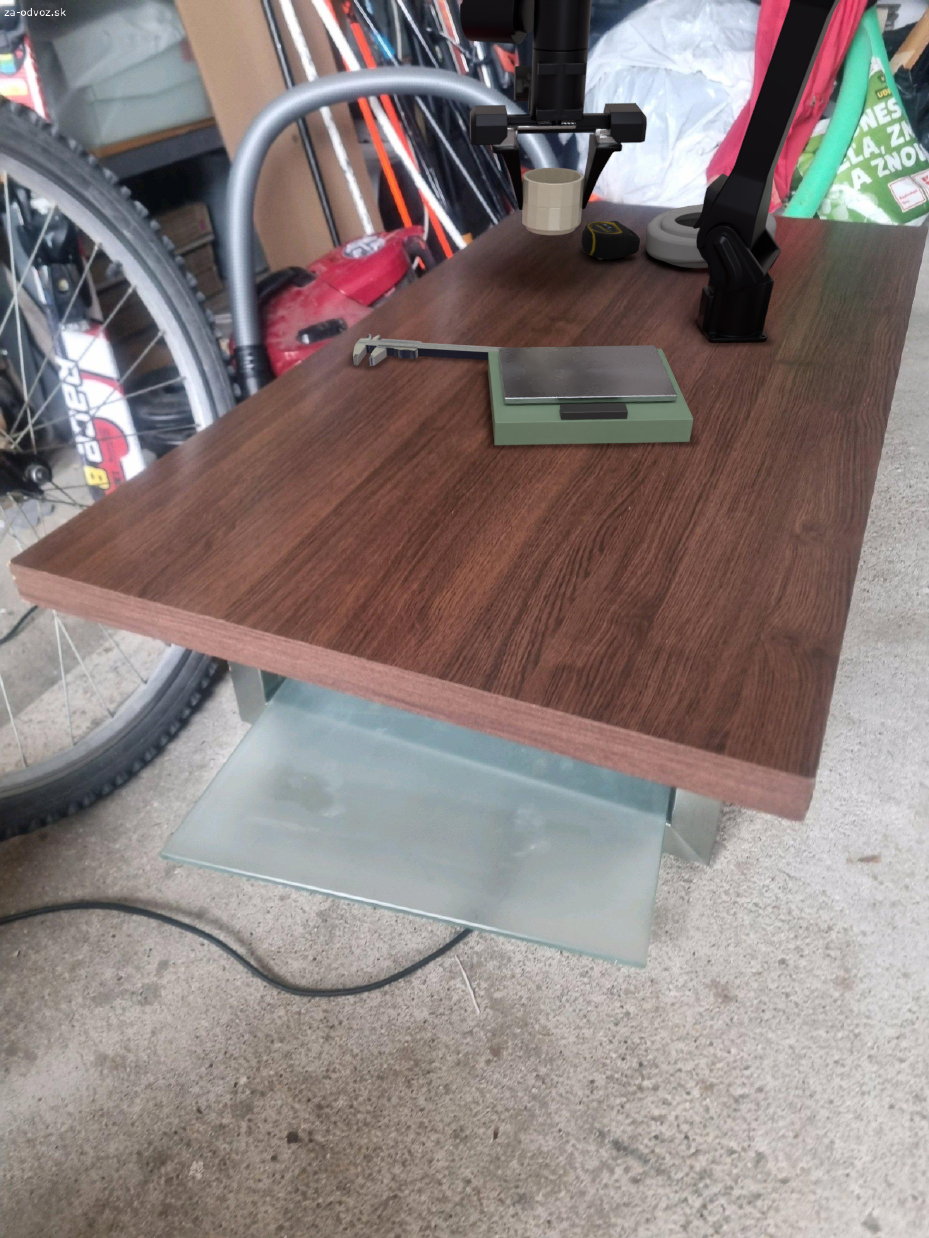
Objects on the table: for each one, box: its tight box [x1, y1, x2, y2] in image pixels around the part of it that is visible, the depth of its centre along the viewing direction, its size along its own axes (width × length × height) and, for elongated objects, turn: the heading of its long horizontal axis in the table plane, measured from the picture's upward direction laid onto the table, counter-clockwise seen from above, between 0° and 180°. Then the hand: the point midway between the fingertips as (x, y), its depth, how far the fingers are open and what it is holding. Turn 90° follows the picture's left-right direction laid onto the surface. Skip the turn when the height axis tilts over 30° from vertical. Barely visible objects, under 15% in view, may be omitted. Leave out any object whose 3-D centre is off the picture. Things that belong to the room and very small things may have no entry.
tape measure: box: [580, 220, 641, 261], centre depth 116 cm, size 7×7×4 cm
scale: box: [487, 348, 694, 446], centre depth 84 cm, size 18×15×3 cm
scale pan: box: [498, 344, 677, 404], centre depth 84 cm, size 16×11×1 cm
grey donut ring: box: [645, 203, 777, 269], centre depth 114 cm, size 17×6×15 cm
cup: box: [520, 167, 584, 236], centre depth 99 cm, size 7×7×6 cm
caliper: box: [352, 333, 505, 367], centre depth 94 cm, size 20×1×6 cm
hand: (551, 208), depth 99 cm, fingers closed on cup, 7 cm apart
